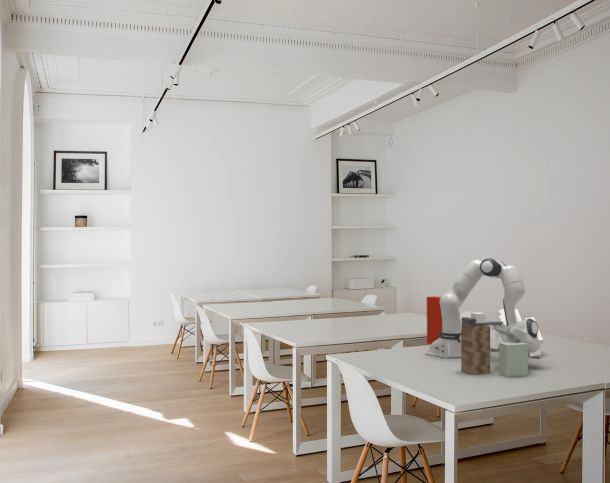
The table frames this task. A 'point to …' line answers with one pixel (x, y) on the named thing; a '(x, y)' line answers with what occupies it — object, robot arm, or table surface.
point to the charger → (483, 319)
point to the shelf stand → (475, 347)
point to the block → (513, 359)
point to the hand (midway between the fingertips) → (496, 323)
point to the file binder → (433, 319)
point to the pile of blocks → (494, 336)
